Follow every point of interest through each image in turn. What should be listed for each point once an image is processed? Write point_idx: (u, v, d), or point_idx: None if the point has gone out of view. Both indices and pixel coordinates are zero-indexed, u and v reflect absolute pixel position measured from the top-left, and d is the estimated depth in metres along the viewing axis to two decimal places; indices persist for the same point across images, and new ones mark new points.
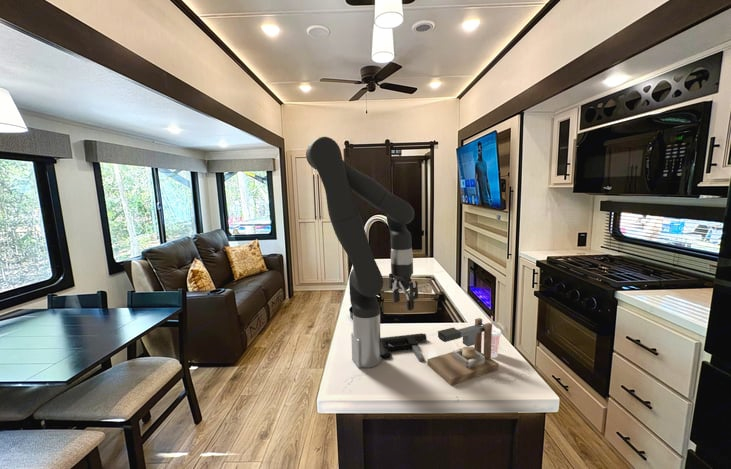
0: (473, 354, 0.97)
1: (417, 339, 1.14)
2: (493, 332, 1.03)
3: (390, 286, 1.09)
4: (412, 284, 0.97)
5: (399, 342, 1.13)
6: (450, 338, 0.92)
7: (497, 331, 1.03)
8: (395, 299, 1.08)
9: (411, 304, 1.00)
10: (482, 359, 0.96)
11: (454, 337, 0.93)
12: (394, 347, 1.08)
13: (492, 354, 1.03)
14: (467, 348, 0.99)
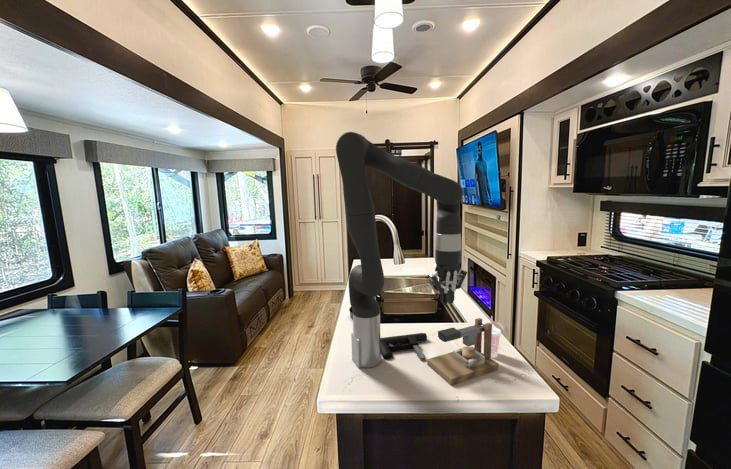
0: (473, 354, 0.97)
1: (418, 339, 1.15)
2: (493, 332, 1.03)
3: (441, 288, 0.89)
4: None
5: (400, 342, 1.13)
6: (450, 338, 0.92)
7: (497, 331, 1.03)
8: None
9: None
10: (482, 359, 0.96)
11: (454, 337, 0.93)
12: (395, 347, 1.08)
13: (492, 354, 1.03)
14: (467, 348, 0.99)
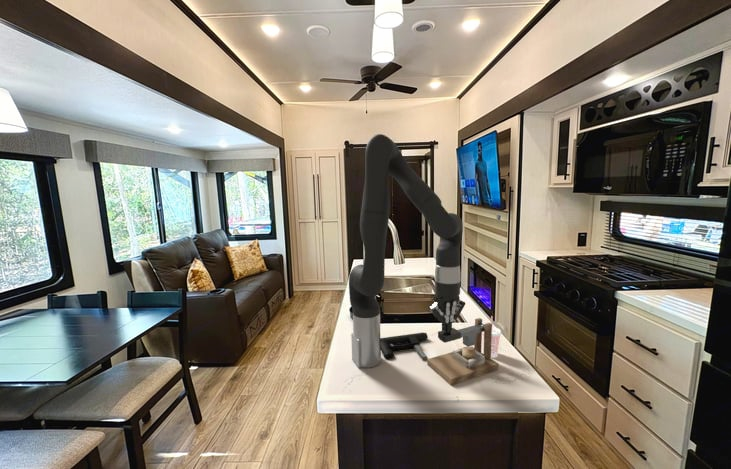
0: (473, 354, 0.97)
1: (418, 338, 1.15)
2: (493, 332, 1.03)
3: (443, 318, 0.91)
4: None
5: (401, 342, 1.13)
6: (450, 338, 0.92)
7: (497, 331, 1.03)
8: None
9: None
10: (482, 359, 0.96)
11: (454, 337, 0.93)
12: (396, 347, 1.08)
13: (492, 354, 1.03)
14: (467, 348, 0.99)
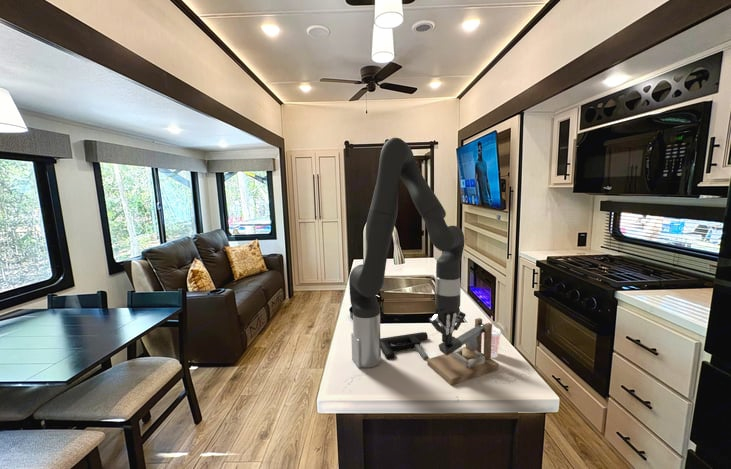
0: (473, 354, 0.97)
1: (419, 338, 1.15)
2: (493, 332, 1.03)
3: (443, 330, 0.92)
4: None
5: (401, 342, 1.13)
6: (451, 350, 0.93)
7: (497, 331, 1.03)
8: None
9: None
10: (482, 359, 0.96)
11: (455, 348, 0.94)
12: (397, 347, 1.09)
13: (492, 354, 1.03)
14: (467, 348, 0.99)
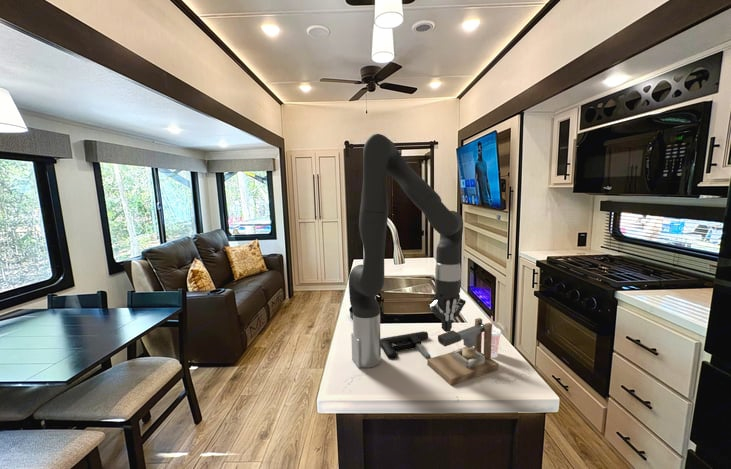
0: (473, 354, 0.97)
1: (419, 337, 1.16)
2: (493, 332, 1.03)
3: (443, 316, 0.91)
4: None
5: (402, 341, 1.14)
6: (450, 342, 0.93)
7: (497, 331, 1.03)
8: None
9: None
10: (482, 359, 0.96)
11: (454, 341, 0.93)
12: (399, 346, 1.09)
13: (492, 354, 1.03)
14: (467, 348, 0.99)
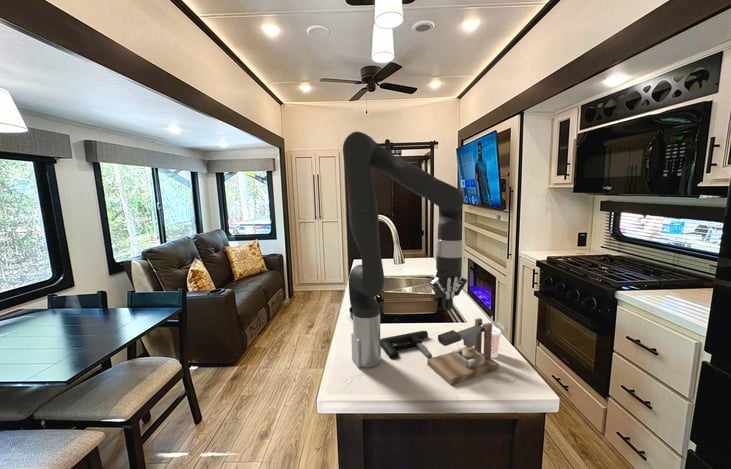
0: (473, 354, 0.97)
1: (419, 336, 1.16)
2: (493, 332, 1.03)
3: (444, 294, 0.90)
4: None
5: (403, 341, 1.14)
6: (450, 342, 0.92)
7: (497, 331, 1.03)
8: None
9: None
10: (482, 359, 0.96)
11: (454, 340, 0.93)
12: (400, 346, 1.09)
13: (492, 354, 1.03)
14: (467, 348, 0.99)
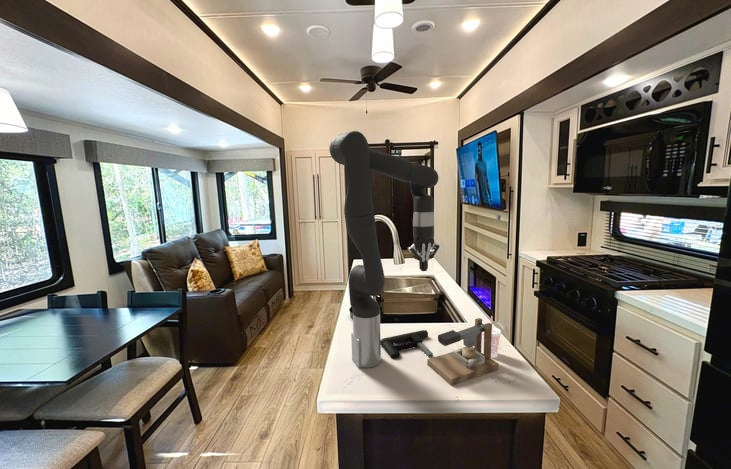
0: (473, 354, 0.97)
1: (420, 336, 1.17)
2: (493, 332, 1.03)
3: (420, 257, 1.08)
4: None
5: (403, 340, 1.14)
6: (450, 342, 0.92)
7: (497, 331, 1.03)
8: None
9: None
10: (482, 359, 0.96)
11: (454, 340, 0.93)
12: (401, 346, 1.09)
13: (492, 354, 1.03)
14: (467, 348, 0.99)
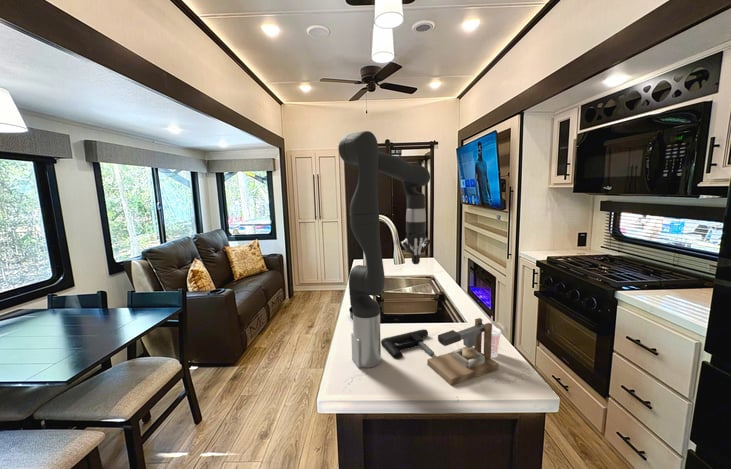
0: (473, 354, 0.97)
1: (420, 335, 1.17)
2: (493, 332, 1.03)
3: (412, 251, 1.16)
4: None
5: (404, 340, 1.15)
6: (450, 342, 0.92)
7: (497, 331, 1.03)
8: None
9: None
10: (482, 359, 0.96)
11: (454, 340, 0.93)
12: (402, 345, 1.09)
13: (492, 354, 1.03)
14: (467, 348, 0.99)
